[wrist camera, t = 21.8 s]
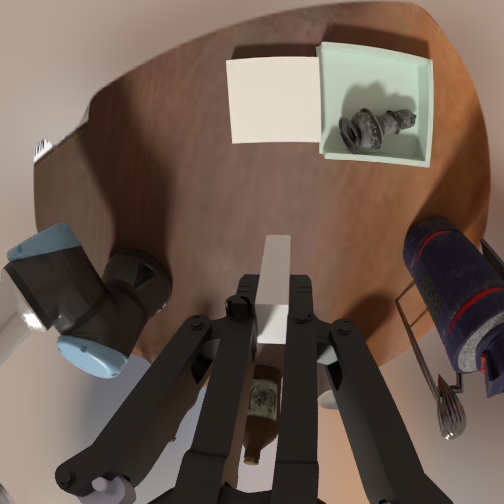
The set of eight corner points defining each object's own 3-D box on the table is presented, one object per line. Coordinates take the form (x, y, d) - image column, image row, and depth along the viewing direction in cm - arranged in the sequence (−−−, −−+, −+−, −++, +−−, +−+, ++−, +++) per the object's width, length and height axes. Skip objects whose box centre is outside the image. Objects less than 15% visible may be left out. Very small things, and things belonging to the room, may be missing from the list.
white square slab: (235, 140, 38) (232, 143, 36) (230, 62, 32) (226, 60, 29) (319, 139, 36) (321, 142, 34) (316, 59, 30) (318, 57, 28)
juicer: (395, 299, 49) (435, 438, 23) (440, 295, 47) (492, 418, 22) (385, 332, 54) (410, 458, 28) (427, 328, 52) (463, 443, 27)
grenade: (411, 281, 46) (466, 420, 21) (390, 235, 42) (464, 391, 17) (467, 246, 40) (547, 366, 15) (453, 195, 36) (565, 315, 11)
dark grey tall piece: (345, 152, 35) (409, 131, 34) (364, 161, 30) (433, 138, 29) (333, 113, 32) (400, 95, 31) (351, 116, 27) (424, 97, 26)
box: (319, 153, 37) (322, 158, 34) (315, 47, 29) (318, 41, 25) (418, 160, 35) (429, 167, 31) (420, 62, 27) (432, 60, 23)
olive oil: (277, 388, 69) (268, 470, 48) (239, 380, 69) (223, 463, 48) (288, 368, 64) (282, 461, 42) (247, 360, 64) (229, 454, 42)
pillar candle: (335, 365, 61) (340, 418, 48) (306, 351, 59) (306, 408, 46) (365, 344, 56) (375, 399, 44) (336, 328, 55) (343, 388, 42)
